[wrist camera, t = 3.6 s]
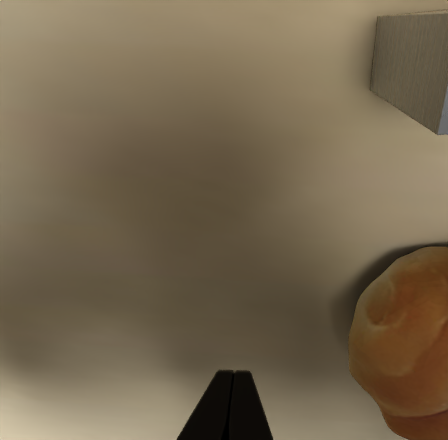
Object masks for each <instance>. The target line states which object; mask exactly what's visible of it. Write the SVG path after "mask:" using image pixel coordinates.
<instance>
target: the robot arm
mask: <svg viewBox="0 0 448 440" xmlns="http://www.w3.org/2000/svg"><path fill="white" fill-rule="evenodd" d="M176 440H273V437H272V434H271V431H270V428H269V425H268V422H267V419H266V415H265V412H264V409H263V406H262V403H261V400H260V397H259V394H258V391H257V388H256V385H255V382H254V379H253V376H252V373H251V372H250V371H247V370H237V371H235V372H234V371H233V370H218V371H217V372H216V374H215V376H214V377H213V379H212V381H211V382H210V384H209V386H208V387H207V389H206V391H205V392H204V394H203V396H202V397H201V399H200V401H199V402H198V404H197V406H196V407H195V409H194V411H193V413H192V414H191V416H190V418H189V419H188V421H187V423H186V424H185V426H184V428H183V429H182V431H181V433H180V434H179V436H178V438H177V439H176Z"/></svg>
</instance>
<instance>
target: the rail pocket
mask: <svg viewBox="0 0 448 440" xmlns="http://www.w3.org/2000/svg"><path fill="white" fill-rule="evenodd" d="M370 90H371V91H372V92H374V93H375V94H377V95H378V96H380V97H381V98H383V99H384V100H386V101H387V102H389V103H390V104H392V105H393V106H395V107H396V108H398V109H399V110H401V111H402V112H404V113H405V114H407V115H408V116H410V117H411V118H413V119H414V120H416V121H417V122H419V123H420V124H422V125H423V126H425V127H426V128H428V129H429V130H431V131H432V132H434V133H435V134H437V135H445V134H448V10H439V11H428V12H418V13H408V14H397V15H387V16H378V20H377V29H376V39H375V48H374V57H373V66H372V76H371V85H370Z"/></svg>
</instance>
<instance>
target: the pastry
mask: <svg viewBox="0 0 448 440" xmlns="http://www.w3.org/2000/svg"><path fill="white" fill-rule="evenodd" d="M348 352H349V371H350V373H351V375H352V377H353V378H354V379H355V380H356V381H357V382H358V383H359V384H360V385H361V387H362V388H363V389H364V390H365V391H366V392H367V393H369V395H370V396H372V398H373V399H374V400H375V401H376V402H377V404H378V405H379V407H380V410H381V412H382V415H383V417H384V419H385V422H386V424H387V426H388V427H389V428H390V429H391V430H392V431H393V432H394V433H395V434H397V435H399V436H402V437H404V438H406V439H409V440H448V247H424V248H420V249H418V250H416V251H414V252H412V253H410V254H408V255H405V256H403V257H400V258H398V259H396V260H395V261H394V262H393V263H392V264H391V265H390V266H389V267H388V268H387V269H386V270H385V271H384V272H383V273H382V274H381V275H380V276H379V277H378V278H377V279H375V280H374V281H373V282H372V283H371V284H370V285H369V286H368V287H367V288H366V289H365V290H364V291H363V293H362V294H361V295H360V298H359V300H358V302H357V305H356V309H355V313H354V319H353V322H352V326H351V329H350V333H349V337H348Z"/></svg>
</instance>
